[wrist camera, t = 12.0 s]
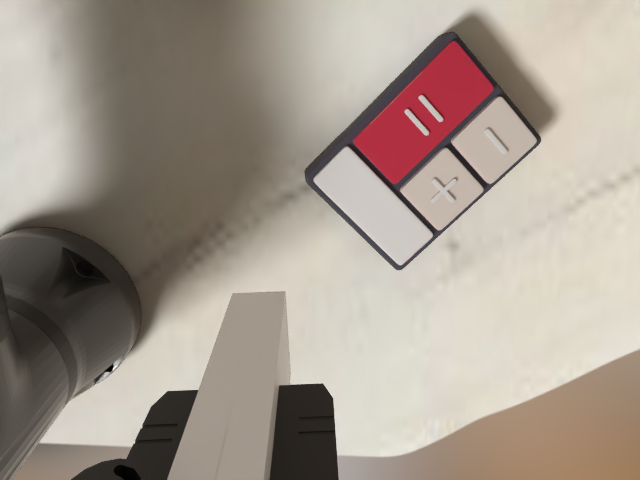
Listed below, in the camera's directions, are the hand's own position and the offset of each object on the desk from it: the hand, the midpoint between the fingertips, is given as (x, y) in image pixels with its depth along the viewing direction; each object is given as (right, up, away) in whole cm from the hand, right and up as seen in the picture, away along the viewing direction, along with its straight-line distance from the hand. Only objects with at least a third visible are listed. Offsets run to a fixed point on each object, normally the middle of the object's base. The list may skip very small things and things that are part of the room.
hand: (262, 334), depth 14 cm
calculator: (+9, +10, +25) cm, 29 cm away
